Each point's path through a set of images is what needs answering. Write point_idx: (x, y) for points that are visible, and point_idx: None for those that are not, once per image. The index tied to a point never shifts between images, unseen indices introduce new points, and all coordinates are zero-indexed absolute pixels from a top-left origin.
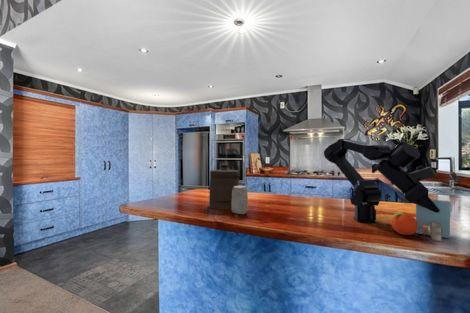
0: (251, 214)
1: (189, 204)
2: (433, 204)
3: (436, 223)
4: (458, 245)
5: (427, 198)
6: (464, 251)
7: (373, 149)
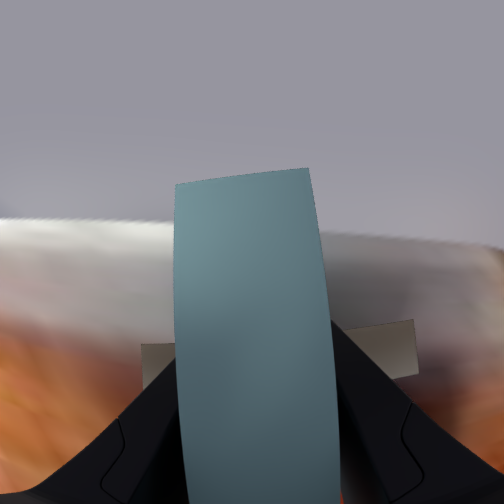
0: None
1: None
2: (386, 387)
3: (399, 349)
4: (389, 261)
5: (462, 480)
6: (461, 245)
7: None
